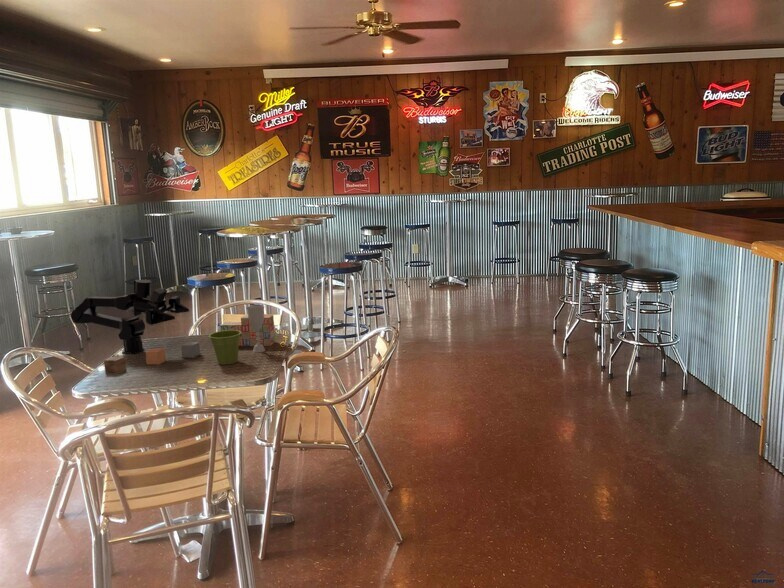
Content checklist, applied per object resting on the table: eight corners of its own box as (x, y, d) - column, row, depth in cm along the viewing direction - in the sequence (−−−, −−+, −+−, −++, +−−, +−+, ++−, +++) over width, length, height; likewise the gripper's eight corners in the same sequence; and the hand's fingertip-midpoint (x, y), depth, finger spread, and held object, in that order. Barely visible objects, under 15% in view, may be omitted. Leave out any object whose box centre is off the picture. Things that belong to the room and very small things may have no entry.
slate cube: (182, 357, 240) (181, 345, 239) (189, 354, 245) (187, 342, 244) (193, 357, 239) (192, 345, 238) (200, 354, 244) (199, 342, 243)
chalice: (247, 352, 242) (243, 308, 239) (253, 348, 249) (250, 305, 246) (264, 353, 241) (260, 308, 238) (270, 348, 248) (267, 305, 244)
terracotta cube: (146, 364, 232) (145, 351, 231) (154, 360, 237) (153, 348, 236) (158, 364, 231) (157, 352, 230) (166, 360, 236) (164, 348, 235)
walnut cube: (105, 373, 223) (103, 360, 222) (114, 369, 228) (112, 356, 227) (117, 373, 222) (115, 360, 221) (126, 369, 226) (124, 356, 226)
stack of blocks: (221, 346, 255) (219, 318, 252) (227, 342, 261) (224, 314, 259) (271, 345, 252) (269, 317, 250) (275, 342, 258) (273, 313, 256)
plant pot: (219, 358, 236) (217, 330, 234) (248, 358, 235) (246, 329, 233) (206, 367, 225) (203, 337, 223) (236, 367, 223) (233, 337, 221)
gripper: (131, 295, 234) (166, 302, 231) (162, 281, 251) (195, 288, 247) (133, 321, 238) (167, 329, 234) (163, 306, 255) (195, 313, 251)
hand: (181, 314), depth 242 cm, fingers open, 9 cm apart
